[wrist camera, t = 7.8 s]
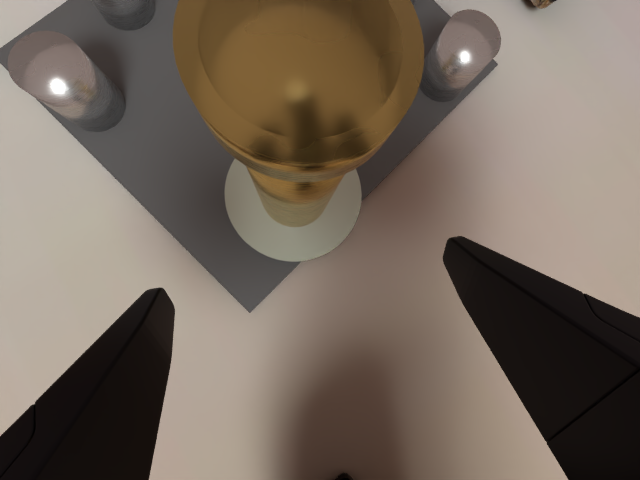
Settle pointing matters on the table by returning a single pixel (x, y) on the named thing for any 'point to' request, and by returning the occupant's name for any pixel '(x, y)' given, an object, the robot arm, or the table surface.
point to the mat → (201, 138)
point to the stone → (542, 3)
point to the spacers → (138, 10)
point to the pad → (284, 239)
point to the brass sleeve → (299, 88)
